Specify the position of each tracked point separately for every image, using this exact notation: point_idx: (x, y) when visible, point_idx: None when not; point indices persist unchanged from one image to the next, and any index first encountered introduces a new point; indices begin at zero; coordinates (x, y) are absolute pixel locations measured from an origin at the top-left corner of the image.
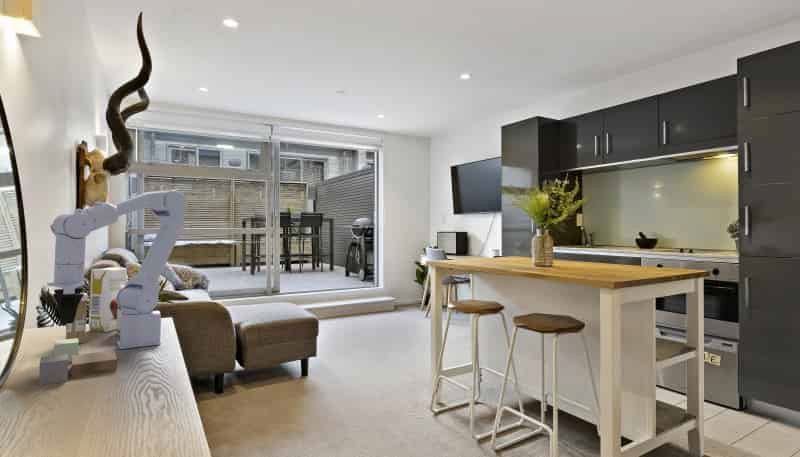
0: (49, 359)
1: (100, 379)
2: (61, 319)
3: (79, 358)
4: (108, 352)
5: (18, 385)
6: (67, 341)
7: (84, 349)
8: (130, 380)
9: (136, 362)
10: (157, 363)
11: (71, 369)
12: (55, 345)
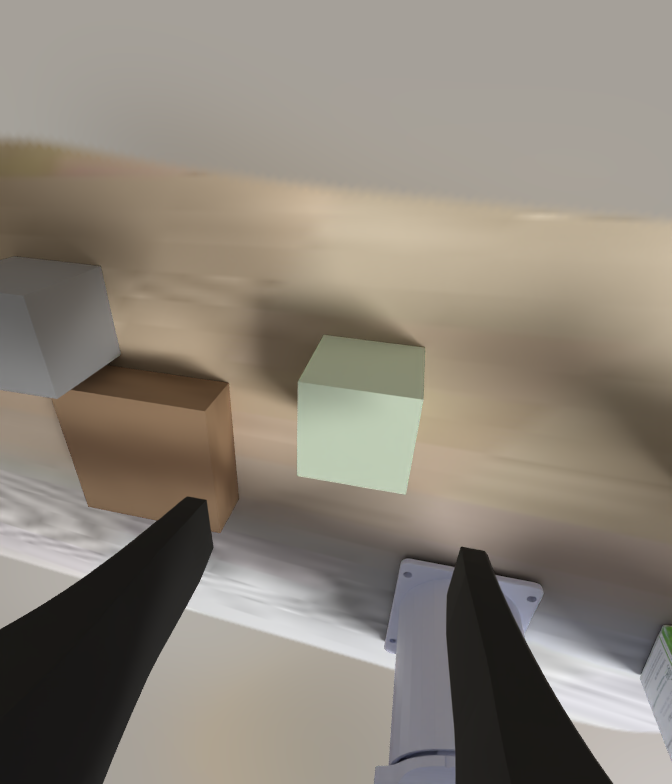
0: None
1: (32, 422)
2: (159, 520)
3: (137, 422)
4: None
5: (26, 184)
6: (347, 443)
7: (527, 475)
8: (3, 474)
9: None
10: None
11: (188, 377)
12: (300, 384)
